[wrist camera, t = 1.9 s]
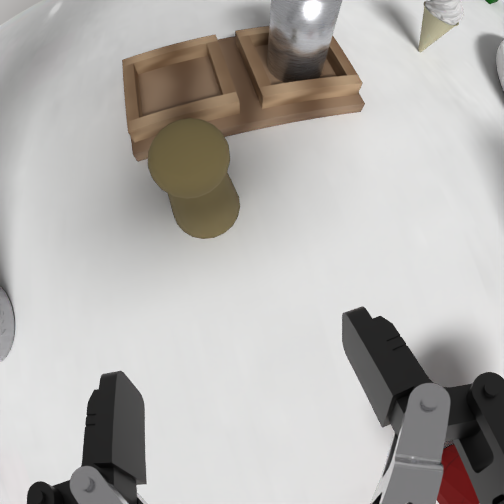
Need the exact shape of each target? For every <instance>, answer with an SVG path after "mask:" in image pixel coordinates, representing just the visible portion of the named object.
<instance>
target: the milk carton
mask: <svg viewBox="0 0 504 504" xmlns="http://www.w3.org/2000/svg"><path fill="white" fill-rule="evenodd" d="M486 1H487V2H488V3H489V4H491V3H494V2H497V1H498V0H486Z"/></svg>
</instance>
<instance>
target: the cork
mask: <svg viewBox="0 0 504 504" xmlns="http://www.w3.org/2000/svg"><path fill="white" fill-rule="evenodd" d="M229 162H230V156H229V145H228V143H227V141H226V139H225V137H224V135H223V134H222V132H221V131H220V130H219V129H218V128H216V127H215V126H214V125H213V124H211V123H209V122H206V121H204V120H201V119H193V118H187V119H180V120H177V121H175V122H172V123H170V124H168V125H167V126H166V127H164V128H163V129H162V130H160V132H159V133H158V134H157V135H156V137H155V138H154V139H153V141H152V143H151V146H150V148H149V151H148V168H149V170H150V173H151V176H152V178H153V180H154V181H155V182H156V183H157V185H158V186H159V187H160V188H161V189H162V190H164V191H165V192H167V193H168V196H169V199H170V203H171V207H172V211H173V214H174V217H175V220H176V222H177V224H178V225H179V227H180V228H181V229H182V230H183V231H184V232H185V233H187V234H189V235H191V236H192V237H197V238H202V239H206V238H214V237H216V236H219V235H221V234H223V233H225V232H226V231H227V230H228V229H229V228H231V227H232V226H233V224H234V222H235V221H236V219H237V217H238V213H239V209H240V203H239V196H238V194H237V192H236V190H235V188H234V186H233V184H232V181H231V179H230V177H229V175H228V173H227V170H228V166H229Z"/></svg>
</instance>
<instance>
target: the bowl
mask: <svg viewBox="0 0 504 504" xmlns="http://www.w3.org/2000/svg"><path fill="white" fill-rule="evenodd" d="M496 65H497V72H498V76H499V80H500V83H501V86H502V88H503V91H504V40H503V41H502V42H501V44H500V45H499V47H498V50H497V56H496Z"/></svg>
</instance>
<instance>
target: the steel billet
mask: <svg viewBox="0 0 504 504" xmlns="http://www.w3.org/2000/svg"><path fill="white" fill-rule="evenodd" d="M341 3H342V0H271V14H270V27H269V41H268V55H267V67H268V70H269V72H270V73H271V74H272V75H273V76H274V77H275V78H277V79H278V80H280V81H282V82H285V83H288V82H295V81H302V80H309V79H317V78H319V77H320V76H321V74H322V70H323V67H324V63H325V60H326V56H327V53H328V49H329V46H330V42H331V39H332V35H333V31H334V28H335V24H336V21H337V17H338V13H339V10H340V6H341Z"/></svg>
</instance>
